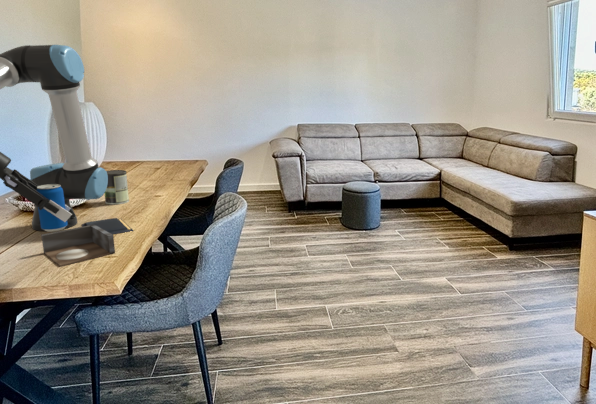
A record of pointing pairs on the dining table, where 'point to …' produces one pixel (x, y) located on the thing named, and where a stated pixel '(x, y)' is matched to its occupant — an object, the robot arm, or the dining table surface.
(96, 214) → the dining table surface
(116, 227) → the dark grey flat rectangle
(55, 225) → the beverage can
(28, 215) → the dining table surface
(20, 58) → the robot arm
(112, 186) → the coffee can
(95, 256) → the corner tray
